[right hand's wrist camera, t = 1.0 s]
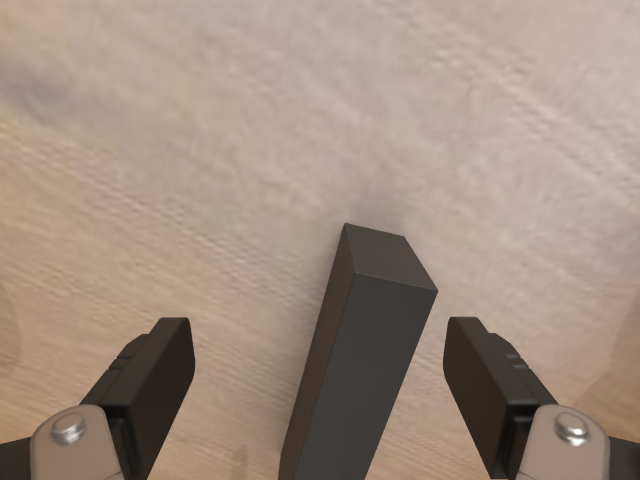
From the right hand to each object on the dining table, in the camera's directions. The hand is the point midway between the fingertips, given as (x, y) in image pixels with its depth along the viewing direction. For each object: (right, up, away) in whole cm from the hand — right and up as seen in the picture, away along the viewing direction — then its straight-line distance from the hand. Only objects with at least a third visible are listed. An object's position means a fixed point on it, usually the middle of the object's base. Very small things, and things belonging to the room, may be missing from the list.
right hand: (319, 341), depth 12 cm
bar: (+1, -8, +23) cm, 24 cm away
